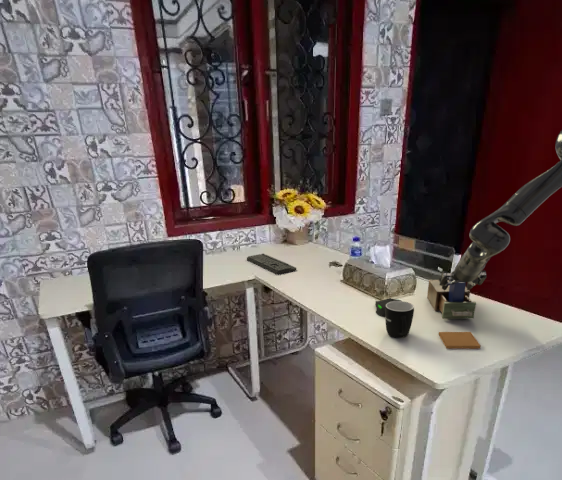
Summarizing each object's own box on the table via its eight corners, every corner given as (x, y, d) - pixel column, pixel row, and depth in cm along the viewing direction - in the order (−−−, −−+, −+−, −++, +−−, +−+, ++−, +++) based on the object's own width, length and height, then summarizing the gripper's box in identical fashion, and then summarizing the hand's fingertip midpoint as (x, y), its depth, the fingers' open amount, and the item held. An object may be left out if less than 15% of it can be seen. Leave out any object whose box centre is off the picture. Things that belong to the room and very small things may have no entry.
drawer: (477, 323, 141) (480, 307, 138) (445, 323, 142) (447, 307, 139) (463, 305, 155) (465, 290, 153) (434, 305, 157) (436, 290, 154)
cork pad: (470, 334, 135) (470, 331, 135) (480, 348, 126) (480, 345, 126) (438, 334, 137) (438, 331, 136) (446, 348, 128) (446, 345, 127)
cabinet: (467, 310, 153) (470, 291, 149) (434, 311, 154) (437, 291, 151) (457, 297, 165) (459, 279, 162) (426, 298, 166) (428, 279, 163)
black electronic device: (380, 320, 149) (381, 309, 147) (369, 303, 164) (370, 294, 162) (412, 318, 149) (413, 307, 148) (398, 301, 164) (398, 292, 162)
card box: (457, 306, 152) (461, 277, 147) (461, 312, 147) (466, 282, 142) (446, 306, 152) (450, 277, 147) (450, 312, 147) (455, 282, 142)
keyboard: (296, 270, 209) (296, 266, 208) (277, 274, 204) (277, 270, 203) (264, 256, 237) (263, 252, 236) (246, 259, 232) (246, 256, 231)
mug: (381, 328, 143) (382, 301, 138) (407, 327, 142) (410, 300, 138) (389, 344, 132) (391, 315, 127) (417, 343, 132) (420, 314, 127)
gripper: (492, 254, 132) (475, 277, 148) (446, 255, 134) (434, 278, 149) (495, 275, 130) (478, 297, 145) (448, 276, 132) (435, 297, 147)
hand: (455, 287), depth 147 cm, fingers open, 7 cm apart
